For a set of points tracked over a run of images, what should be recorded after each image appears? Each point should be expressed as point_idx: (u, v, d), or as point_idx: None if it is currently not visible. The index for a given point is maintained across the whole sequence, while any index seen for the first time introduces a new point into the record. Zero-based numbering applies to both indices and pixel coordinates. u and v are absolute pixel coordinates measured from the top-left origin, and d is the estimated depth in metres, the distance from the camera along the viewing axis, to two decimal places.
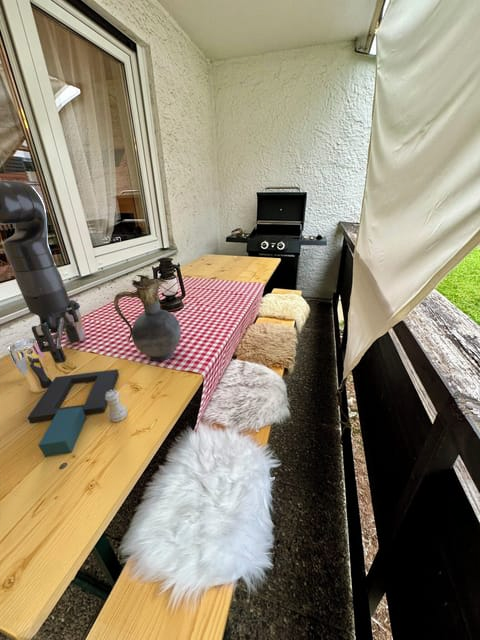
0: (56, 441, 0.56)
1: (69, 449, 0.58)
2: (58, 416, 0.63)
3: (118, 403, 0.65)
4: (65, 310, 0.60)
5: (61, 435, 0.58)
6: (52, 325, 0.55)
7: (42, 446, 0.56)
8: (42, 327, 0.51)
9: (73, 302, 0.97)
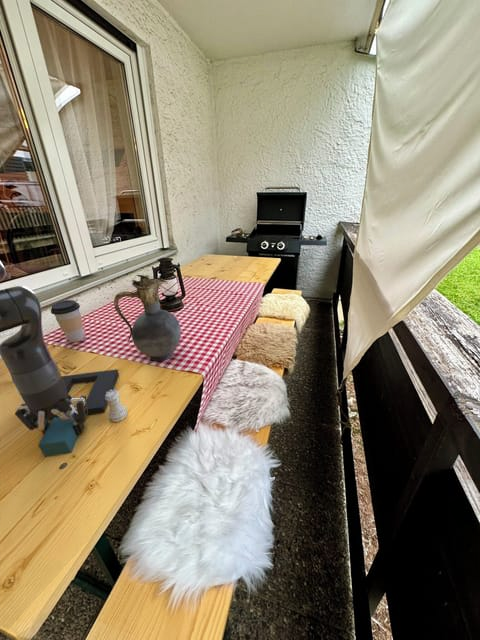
0: (56, 441, 0.56)
1: (69, 449, 0.58)
2: None
3: (118, 403, 0.65)
4: (64, 407, 0.57)
5: (60, 435, 0.58)
6: (31, 411, 0.56)
7: (42, 446, 0.56)
8: None
9: (73, 302, 0.97)
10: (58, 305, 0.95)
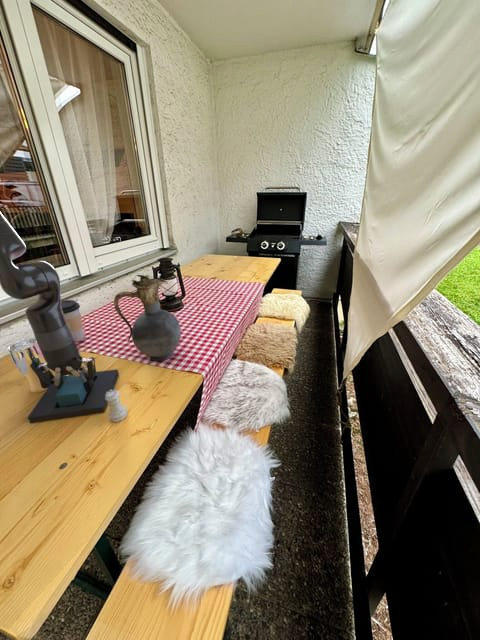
0: (70, 393, 0.68)
1: (80, 401, 0.69)
2: (70, 376, 0.74)
3: (118, 403, 0.65)
4: (76, 365, 0.68)
5: (73, 389, 0.69)
6: (49, 368, 0.68)
7: (58, 397, 0.67)
8: None
9: (73, 302, 0.97)
10: None
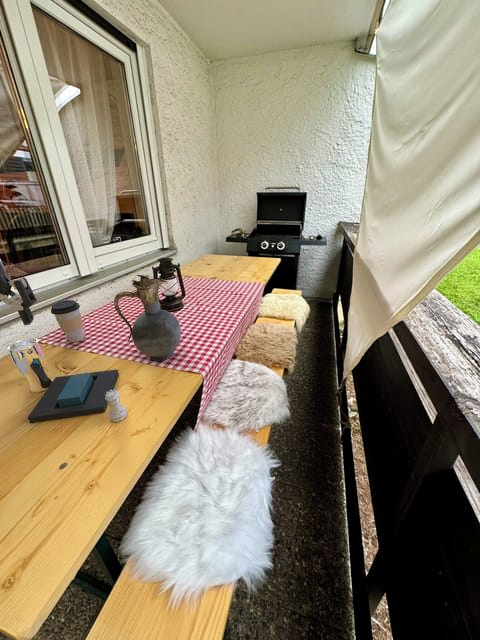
0: (71, 397, 0.68)
1: (82, 404, 0.70)
2: (71, 379, 0.75)
3: (118, 403, 0.65)
4: (0, 286, 0.53)
5: (75, 393, 0.70)
6: None
7: (60, 401, 0.68)
8: None
9: (73, 302, 0.97)
10: (58, 305, 0.95)
